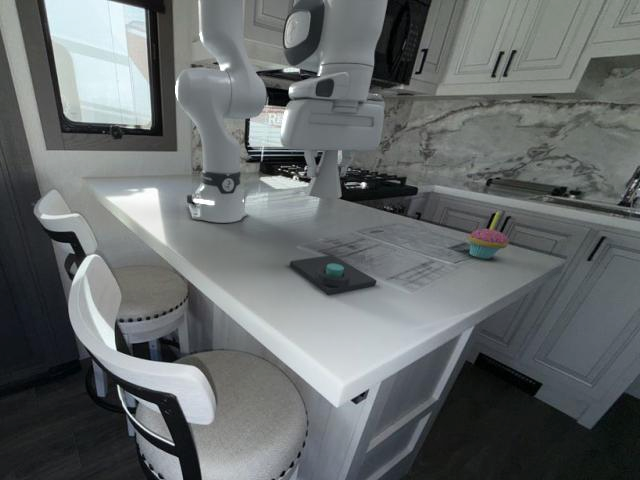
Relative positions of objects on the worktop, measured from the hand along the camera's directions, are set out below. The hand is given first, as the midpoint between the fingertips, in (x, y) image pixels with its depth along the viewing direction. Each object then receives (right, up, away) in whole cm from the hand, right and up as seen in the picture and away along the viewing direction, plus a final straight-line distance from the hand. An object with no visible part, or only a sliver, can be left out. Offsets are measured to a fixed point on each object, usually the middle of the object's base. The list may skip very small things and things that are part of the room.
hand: (326, 176), depth 59 cm
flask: (0, -3, +2) cm, 4 cm away
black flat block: (+3, -19, +7) cm, 20 cm away
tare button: (+2, -19, +2) cm, 19 cm away
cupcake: (+48, -12, +23) cm, 55 cm away
